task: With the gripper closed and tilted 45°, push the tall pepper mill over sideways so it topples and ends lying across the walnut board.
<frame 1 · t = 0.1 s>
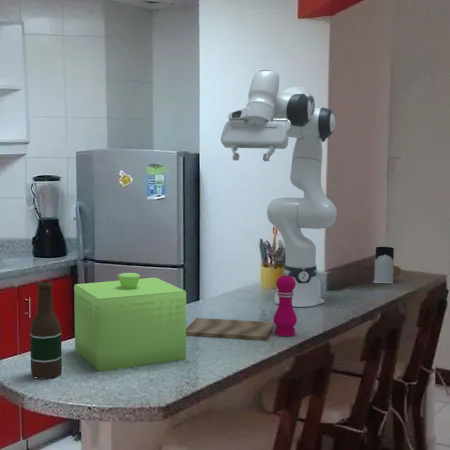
hand: (250, 160, 218), 54 cm above the worktop, tool tilted 30°, fingers open, 8 cm apart
walnut board: (229, 330, 236), on the worktop
beer bottle: (46, 375, 191), on the worktop
pepper mill: (284, 334, 233), on the worktop
canister: (129, 355, 209), on the worktop
glass holder: (383, 282, 318), on the worktop
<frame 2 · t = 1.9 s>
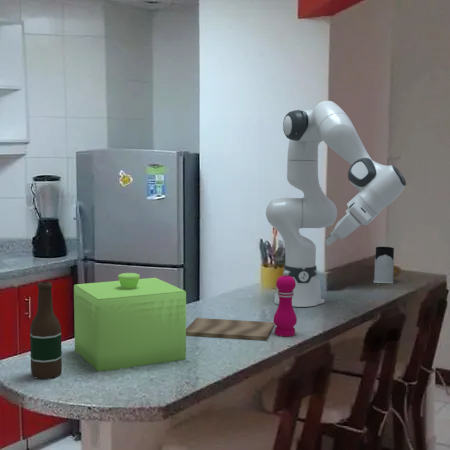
hand: (327, 242, 227), 29 cm above the worktop, tool tilted 45°, fingers open, 7 cm apart
nothing on the worktop moved.
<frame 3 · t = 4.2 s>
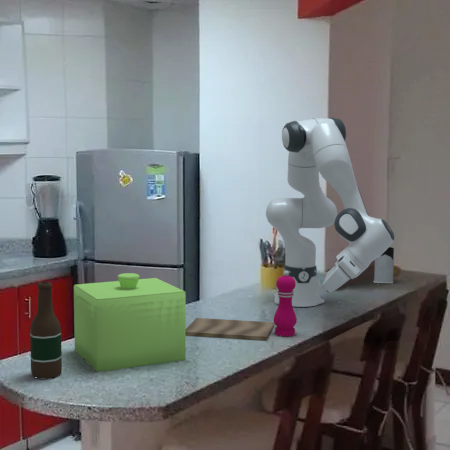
hand: (316, 293, 229), 13 cm above the worktop, tool tilted 45°, fingers closed
nothing on the worktop moved.
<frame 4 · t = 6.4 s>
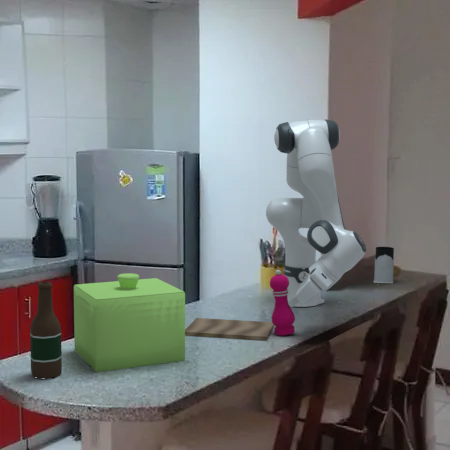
hand: (290, 304, 231), 9 cm above the worktop, tool tilted 45°, fingers closed, pressing on pepper mill
pepper mill: (284, 333, 232), on the worktop, touching gripper
everything else where it was.
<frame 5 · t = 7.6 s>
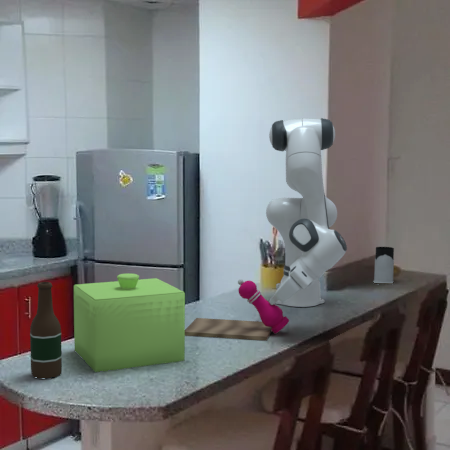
hand: (270, 302, 232), 10 cm above the worktop, tool tilted 45°, fingers closed
pepper mill: (282, 327, 232), point 2 cm above the worktop, touching gripper
everything else where it was.
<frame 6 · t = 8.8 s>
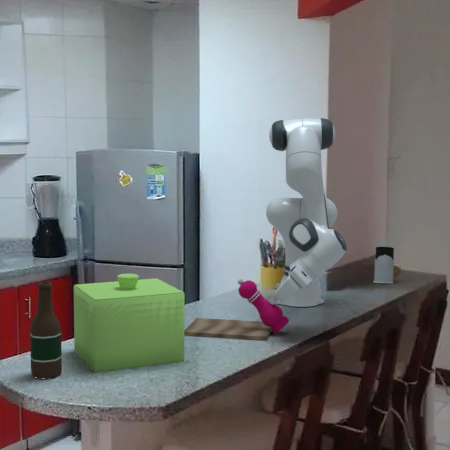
hand: (270, 302, 232), 10 cm above the worktop, tool tilted 45°, fingers closed, pressing on pepper mill
pepper mill: (282, 327, 232), point 2 cm above the worktop, touching gripper
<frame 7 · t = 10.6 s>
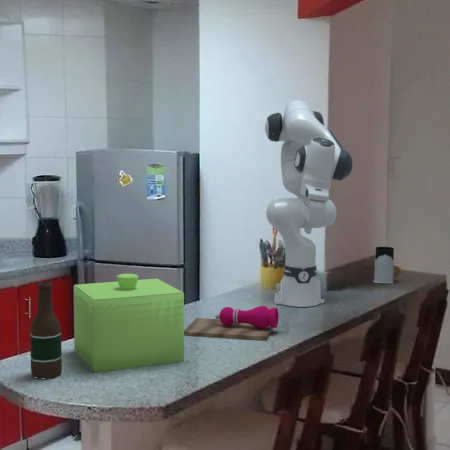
hand: (307, 232, 237), 31 cm above the worktop, tool pointing down, fingers closed
pepper mill: (277, 317, 233), point 5 cm above the worktop, touching walnut board
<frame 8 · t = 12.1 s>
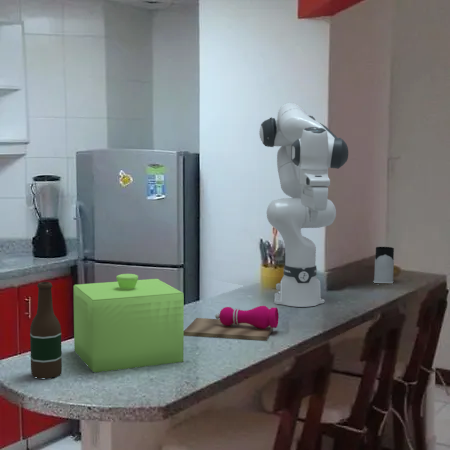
hand: (312, 222, 238), 34 cm above the worktop, tool pointing down, fingers closed
at the end: pepper mill tilted 93°; pepper mill touching walnut board; the gripper is holding nothing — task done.
